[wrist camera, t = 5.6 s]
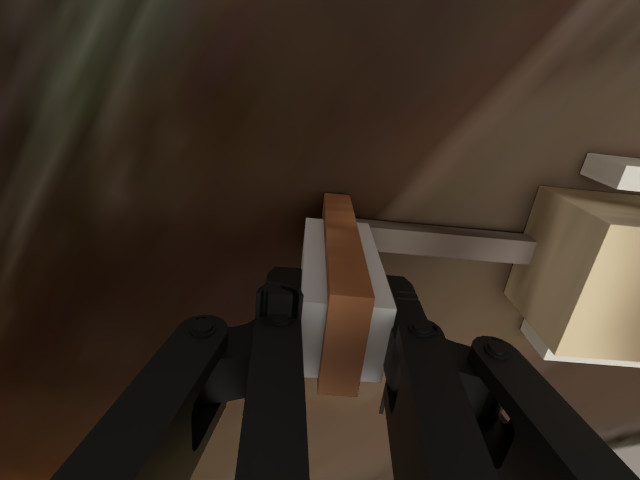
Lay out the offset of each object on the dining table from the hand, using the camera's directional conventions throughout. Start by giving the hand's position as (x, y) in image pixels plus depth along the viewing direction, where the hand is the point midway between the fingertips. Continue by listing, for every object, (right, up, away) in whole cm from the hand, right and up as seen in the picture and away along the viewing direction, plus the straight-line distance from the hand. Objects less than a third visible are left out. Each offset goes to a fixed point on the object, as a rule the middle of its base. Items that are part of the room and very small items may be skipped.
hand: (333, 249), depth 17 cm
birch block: (+7, 0, +2) cm, 8 cm away
